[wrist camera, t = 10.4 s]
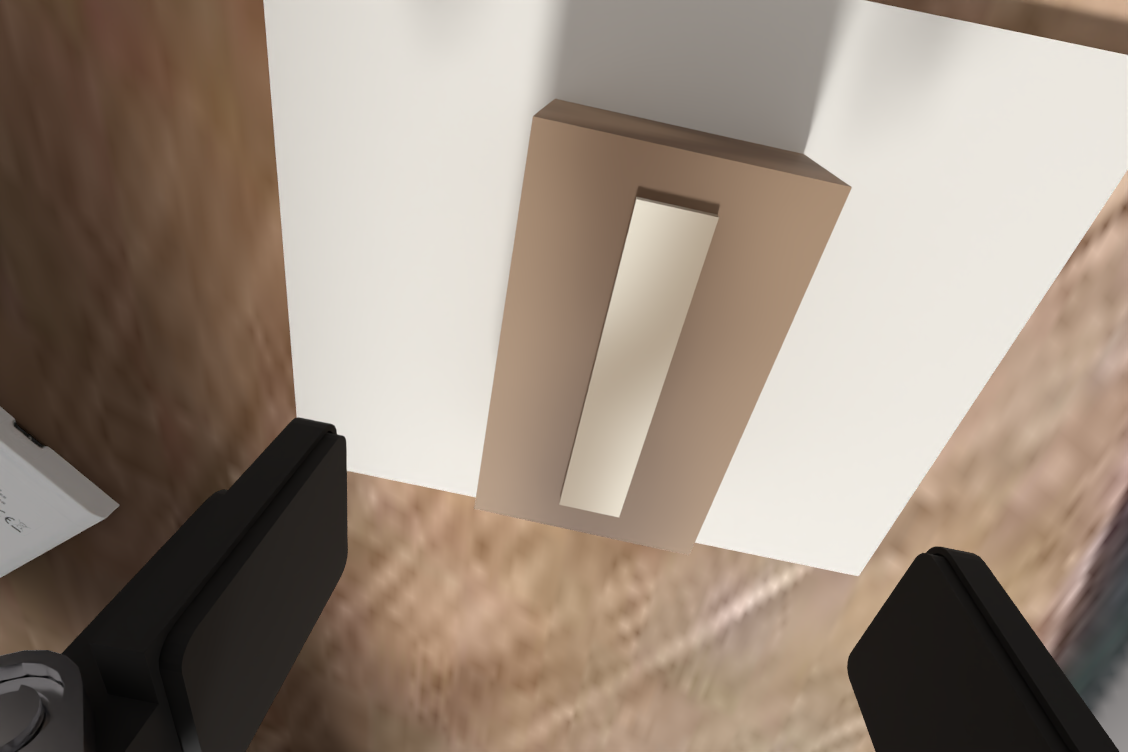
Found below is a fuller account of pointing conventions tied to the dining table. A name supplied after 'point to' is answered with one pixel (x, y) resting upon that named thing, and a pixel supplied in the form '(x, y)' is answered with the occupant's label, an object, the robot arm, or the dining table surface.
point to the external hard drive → (41, 498)
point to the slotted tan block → (643, 318)
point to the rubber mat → (714, 105)
